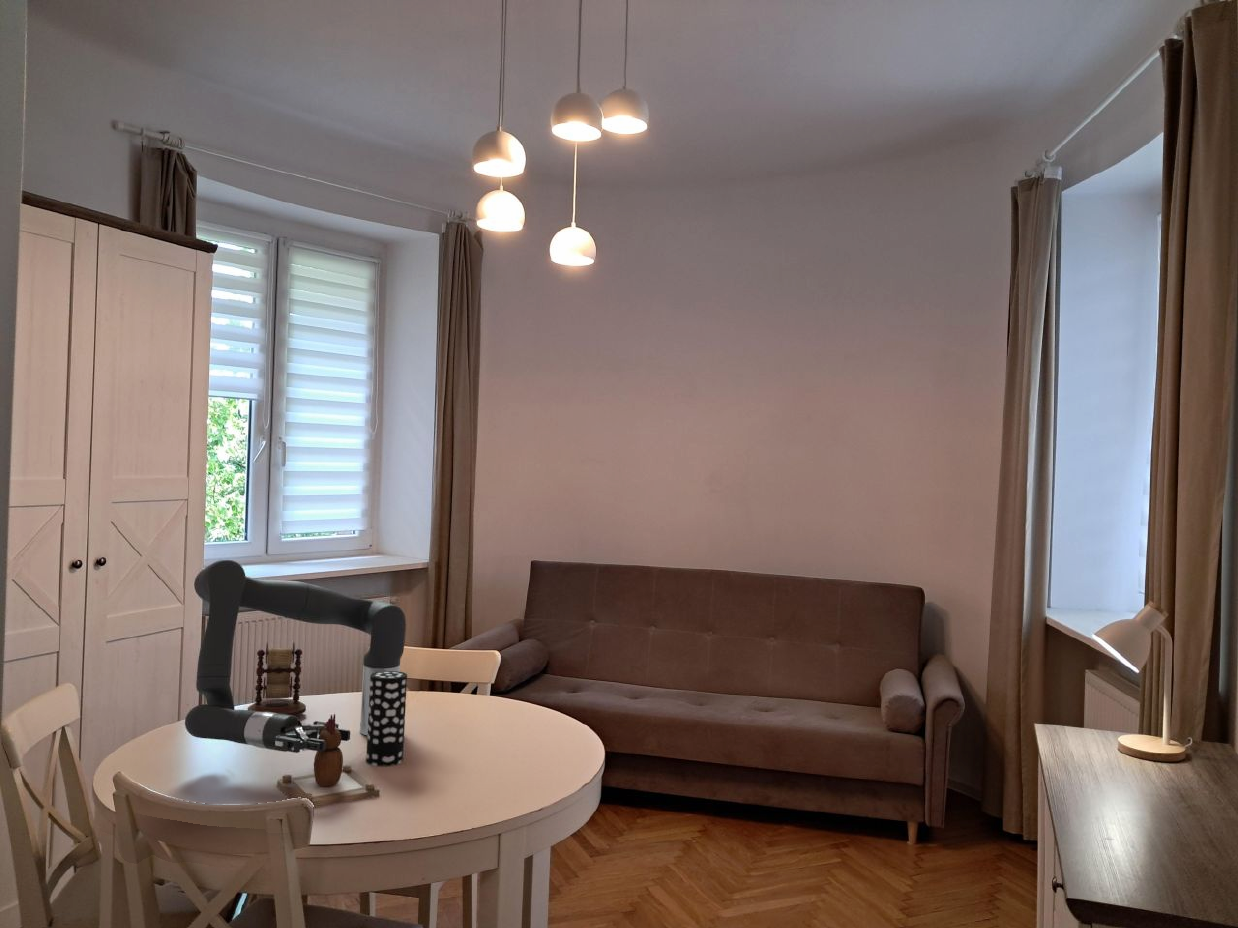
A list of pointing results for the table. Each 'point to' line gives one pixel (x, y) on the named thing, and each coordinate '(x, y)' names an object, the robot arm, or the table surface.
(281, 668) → the scroll
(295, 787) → the base plate
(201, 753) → the table surface
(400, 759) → the spotted tube
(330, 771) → the wooden figurine
